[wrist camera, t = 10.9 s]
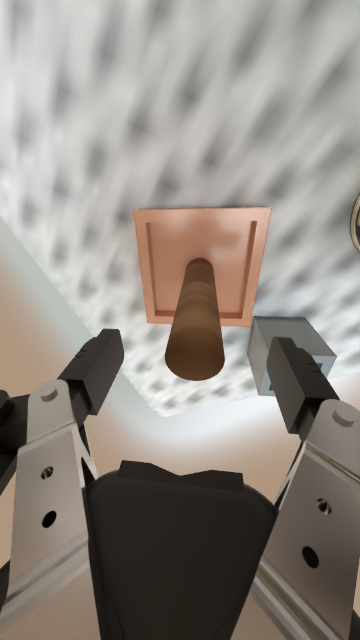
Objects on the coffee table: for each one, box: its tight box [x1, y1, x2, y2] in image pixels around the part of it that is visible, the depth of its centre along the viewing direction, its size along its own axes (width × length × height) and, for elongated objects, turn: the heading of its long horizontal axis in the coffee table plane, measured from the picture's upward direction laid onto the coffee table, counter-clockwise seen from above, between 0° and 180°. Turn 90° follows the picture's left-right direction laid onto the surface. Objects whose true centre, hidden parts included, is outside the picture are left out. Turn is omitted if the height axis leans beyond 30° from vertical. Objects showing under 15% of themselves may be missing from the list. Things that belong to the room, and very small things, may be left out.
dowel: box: [165, 258, 225, 381], centre depth 16 cm, size 3×3×14 cm
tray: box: [134, 206, 271, 327], centre depth 22 cm, size 12×12×2 cm
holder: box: [247, 317, 337, 396], centre depth 24 cm, size 6×6×7 cm
